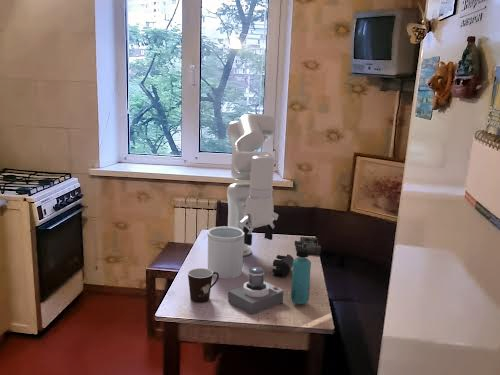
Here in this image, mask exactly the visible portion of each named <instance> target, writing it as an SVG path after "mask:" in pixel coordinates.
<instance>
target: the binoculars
mask: <svg viewBox="0 0 500 375" xmlns="http://www.w3.org/2000/svg"><path fill="white" fill-rule="evenodd" d="M294 246H295V251H296V252H297V249H300V248H303V249H307V250H308V254H309V255H321V252H322V246H321V245H318V238H317V237H315V236H313V237H311V236H309V237H308V236H300V238H299V240H294Z"/></svg>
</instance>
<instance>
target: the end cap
mask: <svg viewBox="0 0 500 375" xmlns="http://www.w3.org/2000/svg"><path fill="white" fill-rule="evenodd" d="M275 258H276V259H274V260H273V263H272V267H275V268H272V277H275V278H276V277H277V278H285V277H288V275H290V272H291V271H292V270H293V261H294V260H295V258H294V257H293V255H291V254H288V253H287V254H286V255H280V254H277V255H276V257H275Z"/></svg>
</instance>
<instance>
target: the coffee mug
mask: <svg viewBox="0 0 500 375" xmlns="http://www.w3.org/2000/svg"><path fill="white" fill-rule="evenodd" d="M213 274H217V277H216V279H215V280H214V282H213V277H214V276H213ZM187 278H188V288H189V296H190V300H191V302H192V303H195V304H205V303H207V302H209V301H210V296H211V289H212V288H213V286H215V285H216V283H217V282H218V280H219V279H220V278H219V274H218V273H217V272H212V271H211V270H209V269H208V268H204V267H198V268H192V269H190V270H189V271H188V272H187ZM212 282H213V283H212Z"/></svg>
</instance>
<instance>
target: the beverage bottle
mask: <svg viewBox="0 0 500 375" xmlns="http://www.w3.org/2000/svg"><path fill="white" fill-rule="evenodd" d="M295 255H296V256H297V257H296V258H294V261H293V267H292V273H291V290H290V300H291V301H292V302H293V303H295V304H299V305H304V304H307V303H308V302H309V301H310V285H311V268H312V267H311V266H312V262H311V260H309V259H308V258H309V255H310V254H308V250H307V249H303V248H300V249H297V251H296V254H295Z"/></svg>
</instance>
